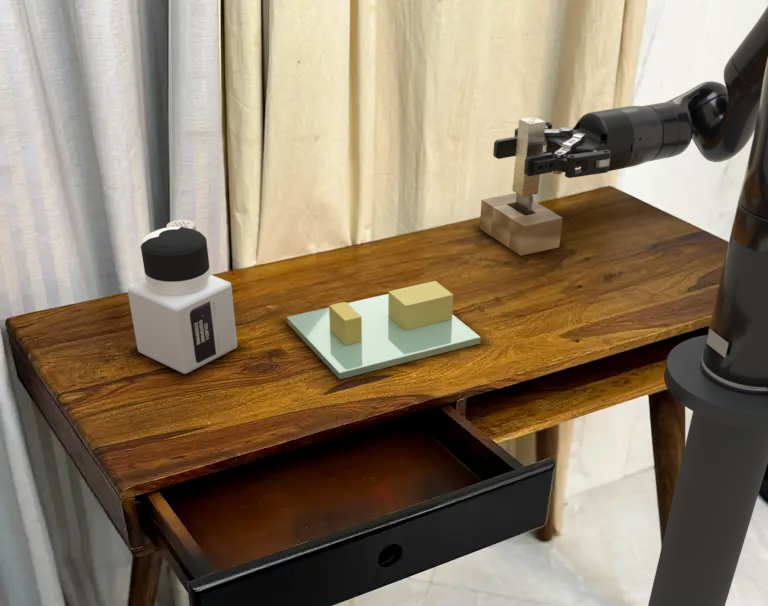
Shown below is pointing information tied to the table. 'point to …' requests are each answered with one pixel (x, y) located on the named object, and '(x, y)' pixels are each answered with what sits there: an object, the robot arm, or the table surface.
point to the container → (181, 302)
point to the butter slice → (345, 323)
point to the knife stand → (520, 225)
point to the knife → (527, 146)
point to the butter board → (378, 338)
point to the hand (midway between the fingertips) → (510, 158)
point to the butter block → (420, 305)
